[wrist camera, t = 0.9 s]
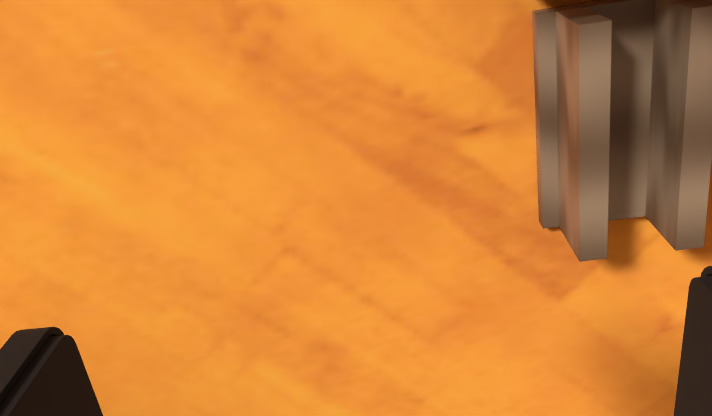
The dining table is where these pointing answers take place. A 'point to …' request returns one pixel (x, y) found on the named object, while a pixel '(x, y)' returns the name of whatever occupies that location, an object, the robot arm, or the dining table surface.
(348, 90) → the dining table surface
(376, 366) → the dining table surface
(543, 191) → the stand
